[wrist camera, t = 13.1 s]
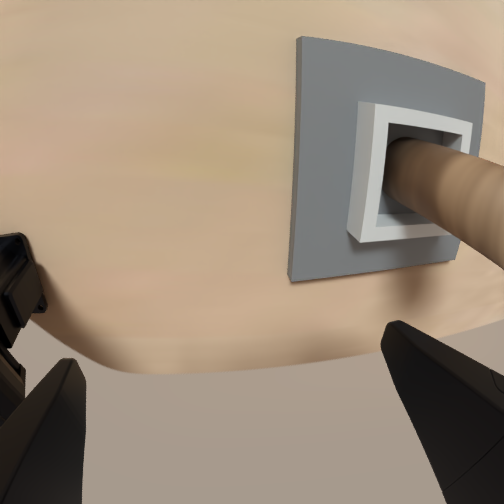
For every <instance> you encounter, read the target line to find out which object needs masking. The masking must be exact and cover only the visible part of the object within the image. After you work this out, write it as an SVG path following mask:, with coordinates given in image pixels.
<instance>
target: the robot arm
mask: <svg viewBox="0 0 504 504" xmlns="http://www.w3.org/2000/svg"><path fill="white" fill-rule="evenodd" d="M17 238H18V239H19V240H20V242H18V240H17ZM40 305H41V306H43V307H41V306H40ZM47 307H48V305H47V302H46V299H45V297H44V294H43V289H42V286H41V283H40V280H39V277H38V274H37V271H36V268H35V265H34V263H33V261H32V259H31V256H30V252H29V249H28V246H27V242H26V239H25V236H24V235H23V234H22V233H19V232H18V233H11V234H4V235H0V504H82V478H83V461H84V447H85V435H86V380H85V377H84V375H83V373H82V371H81V369H80V367H79V365H78V363H77V361H76V360H75V359H73V358H63V359H61V360H59V362H58V363H57V364H56V365H55V366H54V367H53V368H52V369H51V370H50V371H49V373H47V375H46V376H45V377H44V378H43V379H42V380H41V381H40V382H39V383H38V385H37V386H36V387H35V388H34V389H33V390H32V391H31V392H30V394H29V395H28V396H27V397H26V398H25V377H26V376H25V375H26V370H25V368H24V367H23V366H22V365H21V364H19V363H18V362H17V361H16V360H15V358H14V357H13V356H12V355H11V354H10V352H9V351H8V350H7V348H12V346H13V344H14V342H15V340H16V338H17V335H18V333H19V331H20V329H21V328H24V327H25V326H26V324H27V322H28V320H29V318H30V316H31V314H32V313H45V312H46V310H47ZM381 350H382V353H383V355H384V358H385V361H386V363H387V366H388V369H389V371H390V374H391V377H392V380H393V382H394V385H395V387H396V390H397V392H398V394H399V396H400V398H401V401H402V403H403V404H404V407H405V409H406V411H407V413H408V415H409V417H410V420H411V422H412V423H413V426H414V428H415V430H416V433H417V435H418V437H419V439H420V441H421V443H422V446H423V448H424V450H425V453H426V455H427V457H428V459H429V462H430V464H431V466H432V469H433V471H434V473H435V476H436V478H437V481H438V483H439V485H440V488H441V490H442V493H443V496H444V498H445V501H446V503H447V504H504V376H503V375H501V374H499V373H497V372H495V371H494V370H491V369H489V368H488V367H486V366H484V365H483V364H481V363H479V362H477V361H475V360H473V359H472V358H470V357H468V356H466V355H464V354H462V353H460V352H459V351H457V350H455V349H453V348H451V347H449V346H448V345H445V344H444V343H442V342H440V341H438V340H436V339H434V338H433V337H431V336H429V335H427V334H425V333H423V332H421V331H420V330H418V329H416V328H414V327H412V326H410V325H408V324H406V323H405V322H403V321H401V320H397V321H392V322H389V323H388V324H387V325H386V328H385V331H384V334H383V337H382V340H381Z"/></svg>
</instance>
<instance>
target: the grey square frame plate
mask: <svg viewBox="0 0 504 504" xmlns="http://www.w3.org/2000/svg"><path fill="white" fill-rule="evenodd" d="M484 100H485V83H484V82H482V81H480V80H477V79H475V78H472V77H469V76H467V75H464V74H462V73H459V72H456V71H453V70H451V69H448V68H445V67H442V66H439V65H436V64H433V63H429V62H426V61H423V60H420V59H416V58H413V57H409V56H405V55H402V54H398V53H394V52H390V51H386V50H381V49H377V48H372V47H368V46H363V45H358V44H352V43H347V42H341V41H335V40H328V39H321V38H313V37H305V36H301V37H299V38H297V39H296V106H295V139H294V165H293V188H292V208H291V226H290V242H289V258H288V273H287V274H288V276H289V278H290V280H291V282H294V281H302V280H311V279H319V278H327V277H335V276H343V275H351V274H359V273H366V272H374V271H381V270H388V269H395V268H403V267H409V266H416V265H423V264H430V263H436V262H443V261H449V260H455V258H456V255H457V251H458V248H459V244H460V239H458V238H457V237H455V236H454V235H452V234H450V233H449V232H447V231H446V230H444V229H442V228H441V227H439V226H438V225H436V224H434V223H433V222H431V221H429V220H428V219H426V218H424V217H423V216H421V215H419V214H418V213H416V212H414V211H413V210H411V209H409V208H407V207H406V206H404V205H402V204H400V203H399V202H397V201H395V200H393V199H392V198H390V197H389V196H387V195H386V193H385V192H384V191H383V189H382V181H383V173H384V164H385V155H386V147H387V146H388V145H389V144H390V143H391V142H392V141H394V140H396V139H398V138H400V137H411V138H415V139H419V140H423V141H427V142H430V143H434V144H437V145H441V146H444V147H448V148H451V149H454V150H457V151H461V152H464V153H467V154H470V155H473V156H476V157H478V156H479V149H480V141H481V133H482V124H483V113H484Z"/></svg>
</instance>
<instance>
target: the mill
mask: <svg viewBox="0 0 504 504" xmlns="http://www.w3.org/2000/svg"><path fill="white" fill-rule="evenodd" d="M382 189H383V191H384V192H385V193H386V195H387V196H389V197H390V198H392V199H393V200H395V201H397V202H399V203H400V204H402V205H404V206H406V207H407V208H409V209H411V210H413V211H414V212H416V213H418V214H419V215H421V216H423V217H424V218H426V219H428V220H429V221H431V222H433V223H434V224H436V225H438V226H439V227H441V228H442V229H444V230H446V231H447V232H449V233H450V234H452V235H454V236H455V237H457V238H458V239H460V240H461V241H463V242H464V243H466V244H467V245H469V246H470V247H472V248H473V249H475V250H476V251H478V252H479V253H481V254H482V255H484V256H485V257H487V258H488V259H489V260H491V261H492V262H494V263H495V264H497V265H498V266H499V267H501V268H502V269H503V270H504V166H501V165H499V164H496V163H493V162H490V161H488V160H485V159H482V158H479V157H476V156H473V155H470V154H467V153H464V152H461V151H457V150H454V149H451V148H448V147H444V146H441V145H437V144H434V143H430V142H427V141H423V140H419V139H415V138H411V137H400V138H398V139H396V140H394V141H392V142H391V143H390V144H389V145H388V146H387V147H386V155H385V164H384V173H383V181H382Z"/></svg>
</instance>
